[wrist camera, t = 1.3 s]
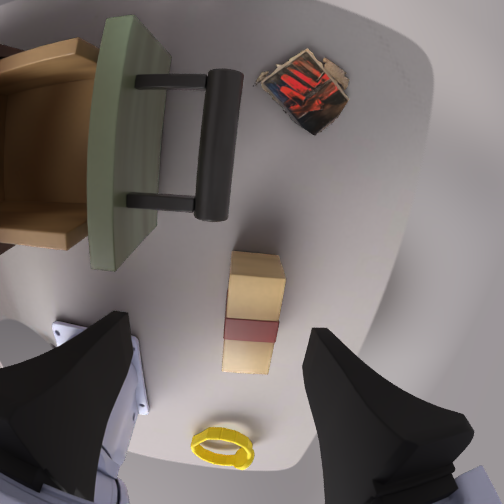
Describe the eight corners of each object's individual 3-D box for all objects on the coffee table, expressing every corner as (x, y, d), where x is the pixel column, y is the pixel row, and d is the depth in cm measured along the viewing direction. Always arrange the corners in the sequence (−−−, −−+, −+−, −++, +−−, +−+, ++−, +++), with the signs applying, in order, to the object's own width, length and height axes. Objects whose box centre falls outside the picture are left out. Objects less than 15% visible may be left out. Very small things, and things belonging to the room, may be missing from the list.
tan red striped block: (265, 342, 22) (268, 375, 18) (223, 339, 21) (220, 372, 18) (279, 254, 19) (287, 279, 16) (230, 249, 19) (228, 274, 16)
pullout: (247, 59, 14) (251, 13, 8) (228, 232, 18) (221, 283, 11) (13, 79, 13) (-52, 72, 7) (8, 215, 17) (-52, 246, 10)
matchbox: (320, 141, 17) (322, 141, 16) (247, 92, 16) (247, 91, 15) (360, 84, 15) (363, 83, 15) (291, 35, 14) (292, 33, 14)
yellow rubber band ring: (185, 433, 27) (228, 456, 28) (179, 454, 24) (224, 476, 25) (221, 415, 25) (266, 440, 26) (216, 438, 22) (265, 462, 23)
